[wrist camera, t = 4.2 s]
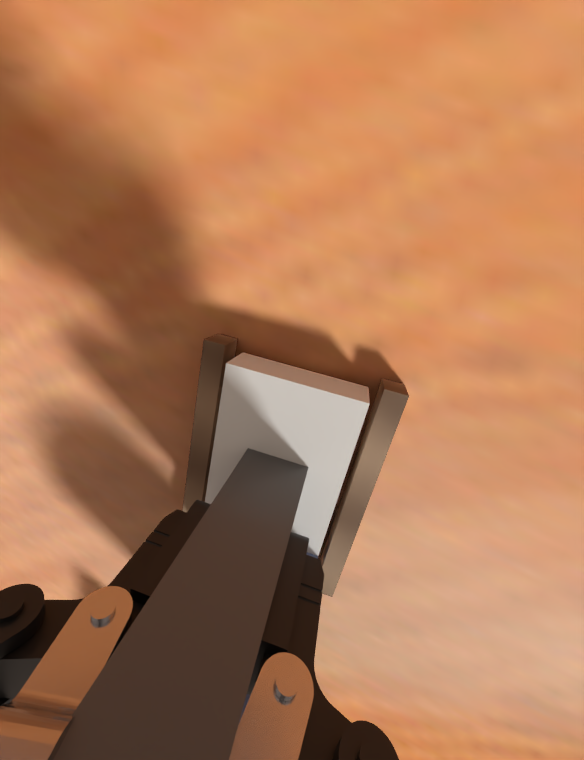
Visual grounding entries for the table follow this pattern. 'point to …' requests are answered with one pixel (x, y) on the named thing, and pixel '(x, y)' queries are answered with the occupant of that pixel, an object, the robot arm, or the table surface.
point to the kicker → (225, 569)
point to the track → (361, 474)
